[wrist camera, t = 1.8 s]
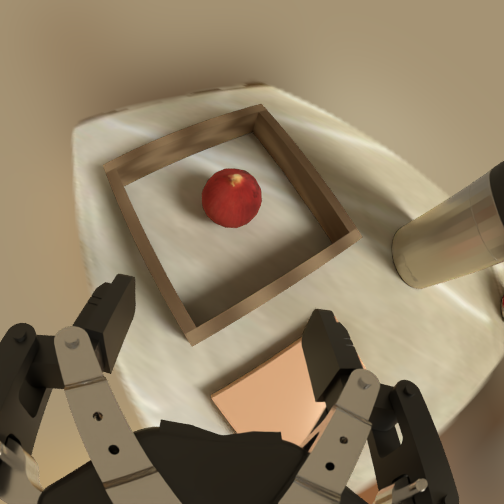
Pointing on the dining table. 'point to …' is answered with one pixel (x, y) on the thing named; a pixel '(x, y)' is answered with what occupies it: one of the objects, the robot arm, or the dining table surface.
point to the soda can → (502, 306)
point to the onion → (231, 198)
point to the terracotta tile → (273, 397)
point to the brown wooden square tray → (286, 158)
